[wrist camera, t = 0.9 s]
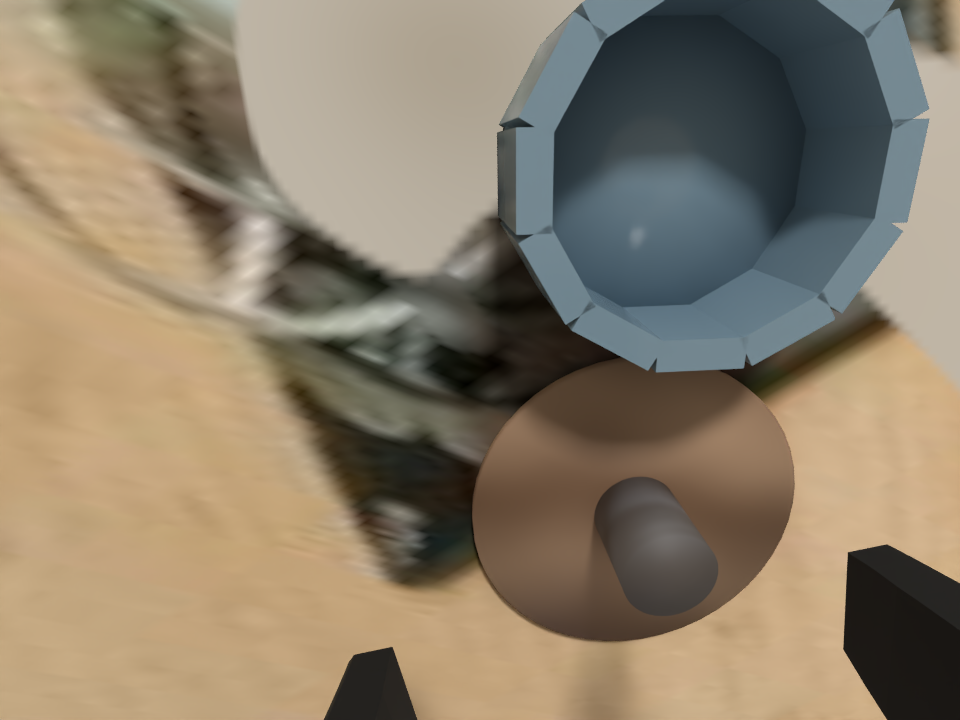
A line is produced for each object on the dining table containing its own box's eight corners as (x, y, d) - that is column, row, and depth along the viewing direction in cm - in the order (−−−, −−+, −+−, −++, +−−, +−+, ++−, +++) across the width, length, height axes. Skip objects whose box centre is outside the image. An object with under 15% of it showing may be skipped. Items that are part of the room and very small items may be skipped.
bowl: (787, 318, 18) (877, 362, 15) (499, 330, 18) (516, 379, 14) (840, -16, 15) (969, -68, 12) (495, -13, 15) (515, -67, 11)
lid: (758, 614, 23) (822, 704, 19) (475, 634, 22) (483, 733, 19) (805, 343, 19) (894, 390, 16) (466, 358, 19) (474, 411, 15)
